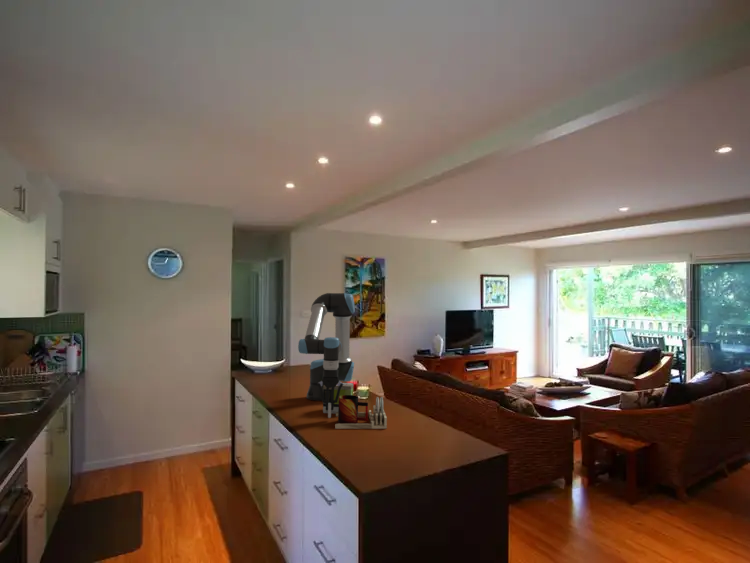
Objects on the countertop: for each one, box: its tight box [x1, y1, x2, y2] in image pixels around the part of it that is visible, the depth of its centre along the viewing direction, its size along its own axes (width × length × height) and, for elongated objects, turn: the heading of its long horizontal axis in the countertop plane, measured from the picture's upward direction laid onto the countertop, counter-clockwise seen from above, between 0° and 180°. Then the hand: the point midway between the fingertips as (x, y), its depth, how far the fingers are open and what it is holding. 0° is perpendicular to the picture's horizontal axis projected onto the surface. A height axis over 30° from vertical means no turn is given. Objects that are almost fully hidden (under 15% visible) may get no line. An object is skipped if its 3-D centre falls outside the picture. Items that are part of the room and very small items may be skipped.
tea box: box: [322, 382, 354, 414], centre depth 226 cm, size 15×10×15 cm
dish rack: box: [334, 396, 388, 430], centre depth 207 cm, size 22×24×12 cm
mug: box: [337, 394, 369, 424], centre depth 208 cm, size 10×14×12 cm
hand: (329, 416), depth 208 cm, fingers closed
